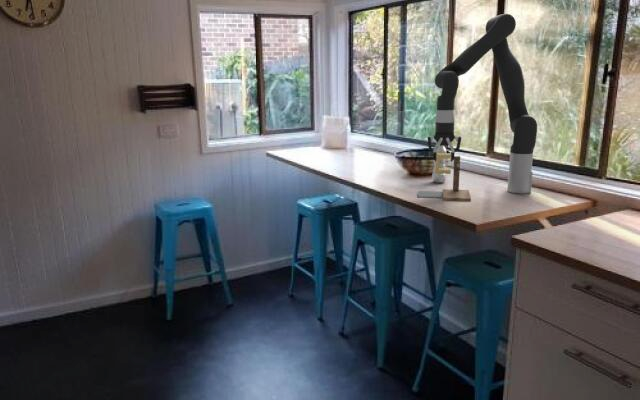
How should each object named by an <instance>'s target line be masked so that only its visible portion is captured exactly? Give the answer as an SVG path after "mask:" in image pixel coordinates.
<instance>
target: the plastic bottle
mask: <svg viewBox="0 0 640 400" xmlns="http://www.w3.org/2000/svg"><path fill="white" fill-rule="evenodd" d="M436 144H437V142H436V141H435V145H436ZM436 152H437V153H447V149H446V147H445V145H443V146H440V145H439V147H438V149H437V151H436ZM446 160H447V159H442V158H439V168H445V169H446ZM431 174H432V175H431V180H432V182H433V183H437V184H441V183H445V182H446V179H447V174H436V161H435V160H433V170H432V173H431Z"/></svg>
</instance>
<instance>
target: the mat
mask: <svg viewBox="0 0 640 400" xmlns="http://www.w3.org/2000/svg"><path fill="white" fill-rule="evenodd" d="M417 198H424V199H425V198H427V199H429V198H430V199H443V191H436V190H435V191H433V190H431V191H430V190H429V191H427V190H418V191H417Z"/></svg>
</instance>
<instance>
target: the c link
mask: <svg viewBox="0 0 640 400" xmlns="http://www.w3.org/2000/svg"><path fill="white" fill-rule="evenodd" d="M439 158H442V159H446V160H447V159H449V160H451V152H450V153H437V155H436V174H446V175H451V172H452V170H451V168H446V167H445V168H439Z"/></svg>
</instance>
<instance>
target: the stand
mask: <svg viewBox="0 0 640 400" xmlns="http://www.w3.org/2000/svg"><path fill="white" fill-rule="evenodd" d="M460 171H461V156H460V155H454V160H453V174H452V175H453V176H452V189H447V188H442V201H447V202H449V201H450V202H451V201H453V202H471V201H472V198H471V194H470V190H469V189H460V173H461V172H460Z"/></svg>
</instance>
